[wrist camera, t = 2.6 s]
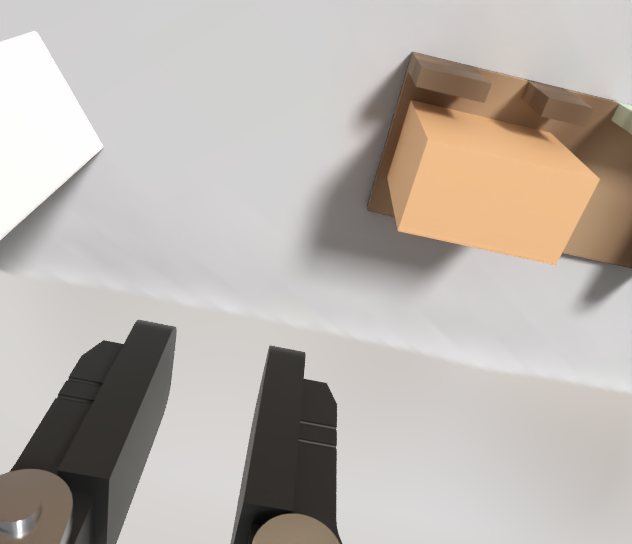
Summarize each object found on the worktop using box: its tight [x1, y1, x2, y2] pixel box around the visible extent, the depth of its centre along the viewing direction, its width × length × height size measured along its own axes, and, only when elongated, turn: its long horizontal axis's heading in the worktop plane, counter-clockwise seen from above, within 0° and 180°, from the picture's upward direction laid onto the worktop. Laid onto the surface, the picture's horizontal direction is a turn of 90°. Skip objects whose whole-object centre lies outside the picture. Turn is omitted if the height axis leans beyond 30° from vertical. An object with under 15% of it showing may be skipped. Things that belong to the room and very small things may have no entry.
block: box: [387, 100, 600, 265], centre depth 25 cm, size 7×4×6 cm, turn 77°
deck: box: [367, 52, 632, 268], centre depth 27 cm, size 16×8×4 cm, turn 78°
